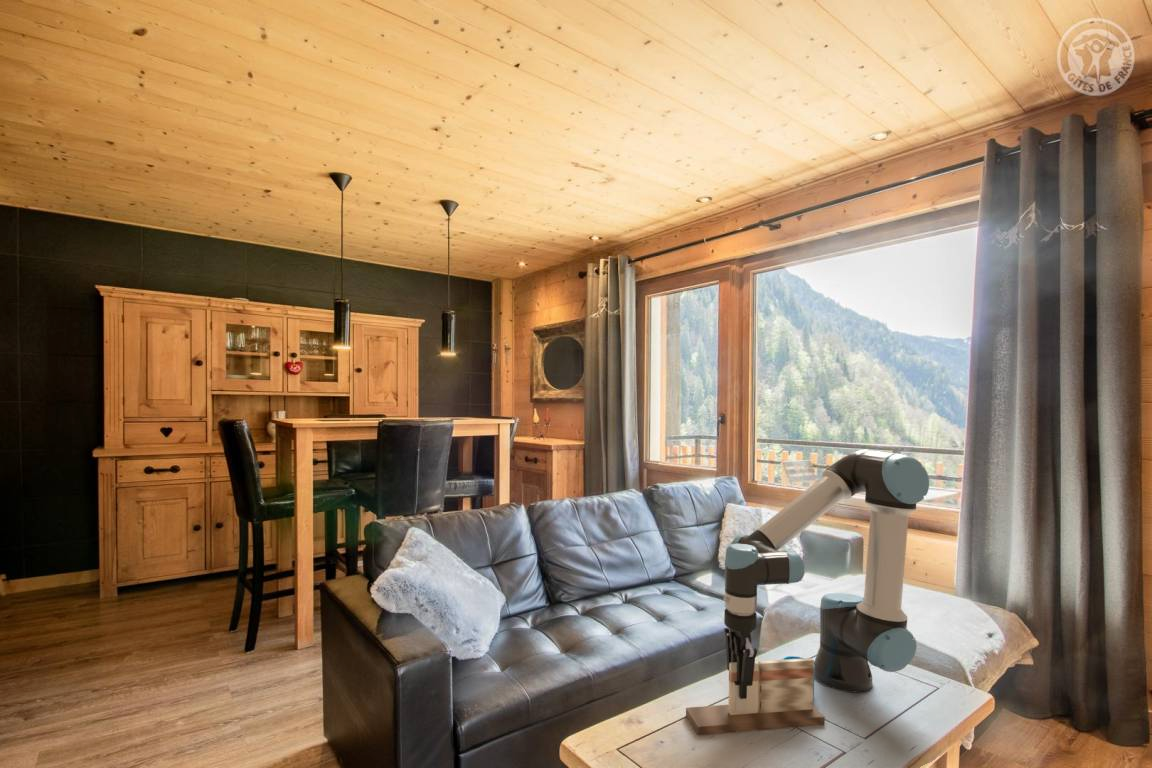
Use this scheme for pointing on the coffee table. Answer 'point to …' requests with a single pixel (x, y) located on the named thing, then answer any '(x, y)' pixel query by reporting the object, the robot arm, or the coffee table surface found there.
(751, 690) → the stub
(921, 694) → the coffee table surface
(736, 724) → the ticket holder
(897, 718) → the coffee table surface
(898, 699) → the coffee table surface
